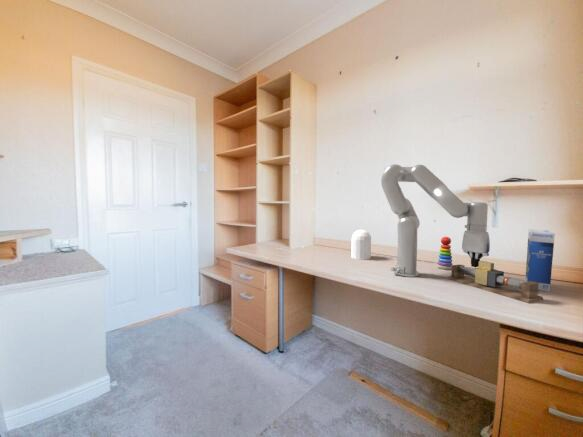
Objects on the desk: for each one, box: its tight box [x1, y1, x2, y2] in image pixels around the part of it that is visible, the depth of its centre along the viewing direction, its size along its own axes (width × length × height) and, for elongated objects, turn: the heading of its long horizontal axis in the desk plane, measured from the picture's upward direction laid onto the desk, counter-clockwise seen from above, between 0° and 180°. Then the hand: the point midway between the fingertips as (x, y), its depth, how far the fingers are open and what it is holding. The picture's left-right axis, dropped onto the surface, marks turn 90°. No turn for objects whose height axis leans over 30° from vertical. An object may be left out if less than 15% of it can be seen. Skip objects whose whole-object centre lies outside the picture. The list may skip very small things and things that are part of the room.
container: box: [350, 229, 372, 261], centre depth 174 cm, size 14×13×20 cm
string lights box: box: [524, 229, 556, 293], centre depth 114 cm, size 13×8×26 cm, turn 141°
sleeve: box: [474, 260, 497, 286], centre depth 114 cm, size 5×7×10 cm
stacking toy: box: [436, 236, 453, 271], centre depth 146 cm, size 8×8×19 cm
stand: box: [446, 264, 544, 304], centre depth 113 cm, size 33×10×7 cm, turn 22°
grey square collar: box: [487, 269, 505, 287], centre depth 111 cm, size 3×6×6 cm, turn 112°
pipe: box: [458, 266, 526, 291], centre depth 113 cm, size 30×4×4 cm, turn 22°
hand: (475, 266), depth 119 cm, fingers closed
